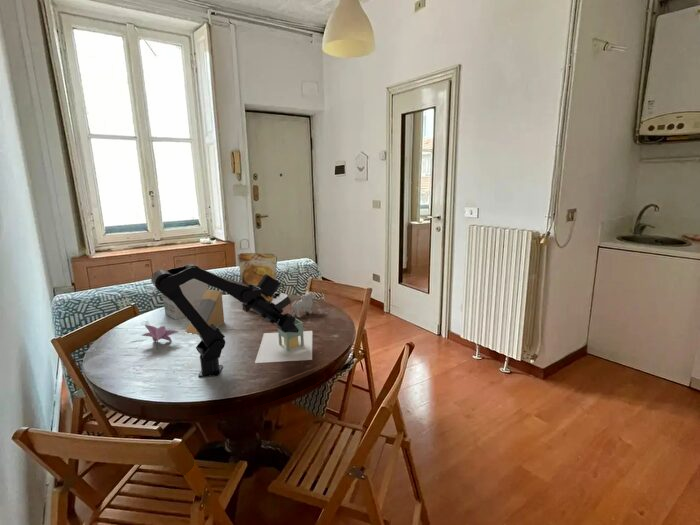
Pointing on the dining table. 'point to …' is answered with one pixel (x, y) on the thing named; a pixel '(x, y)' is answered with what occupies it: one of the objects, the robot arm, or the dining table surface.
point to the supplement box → (191, 291)
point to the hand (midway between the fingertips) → (292, 327)
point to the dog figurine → (303, 303)
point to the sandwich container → (209, 310)
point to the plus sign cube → (292, 342)
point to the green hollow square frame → (292, 334)
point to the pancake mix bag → (257, 268)
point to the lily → (159, 333)
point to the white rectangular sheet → (284, 349)
